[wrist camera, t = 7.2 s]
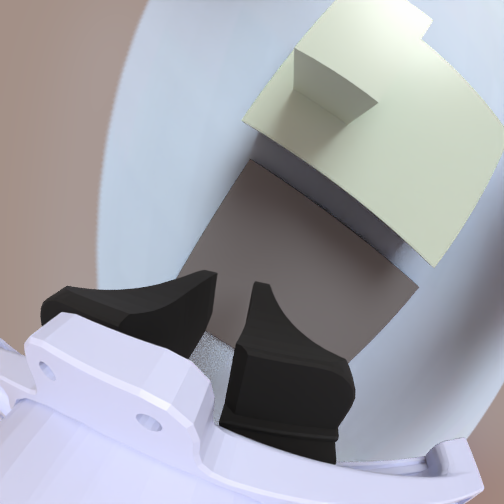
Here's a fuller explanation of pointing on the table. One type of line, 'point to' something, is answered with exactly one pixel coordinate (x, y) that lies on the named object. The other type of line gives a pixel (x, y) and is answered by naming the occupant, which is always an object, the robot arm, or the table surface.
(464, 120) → the lid
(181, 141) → the table surface
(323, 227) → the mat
